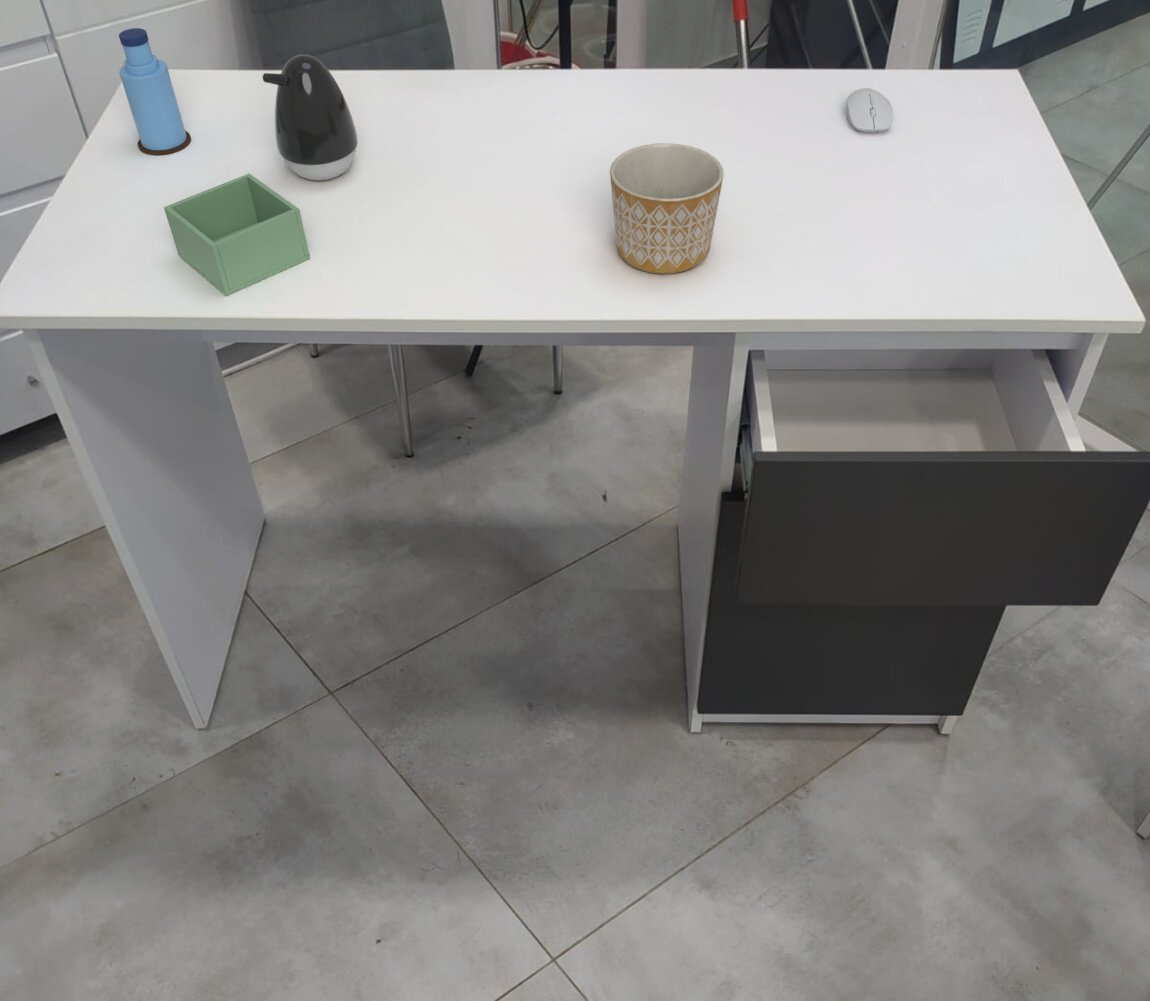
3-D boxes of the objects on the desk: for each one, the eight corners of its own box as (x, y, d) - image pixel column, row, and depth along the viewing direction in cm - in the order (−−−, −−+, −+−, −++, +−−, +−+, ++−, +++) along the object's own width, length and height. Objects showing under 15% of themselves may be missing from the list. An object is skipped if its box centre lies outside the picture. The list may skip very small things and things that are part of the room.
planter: (618, 218, 137) (619, 138, 129) (721, 227, 135) (728, 147, 127) (600, 276, 128) (600, 194, 120) (710, 286, 126) (717, 204, 119)
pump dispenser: (269, 167, 147) (243, 53, 136) (339, 144, 151) (319, 32, 140) (303, 199, 141) (279, 83, 130) (376, 174, 145) (358, 59, 134)
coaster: (153, 160, 148) (152, 157, 148) (129, 142, 152) (128, 139, 152) (200, 143, 152) (199, 140, 151) (175, 125, 155) (175, 122, 155)
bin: (226, 296, 126) (211, 246, 122) (178, 256, 132) (163, 206, 127) (310, 258, 131) (299, 208, 127) (261, 221, 137) (249, 173, 133)
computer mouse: (850, 136, 150) (854, 114, 148) (840, 102, 157) (843, 81, 155) (895, 135, 150) (899, 114, 148) (882, 102, 157) (886, 81, 155)
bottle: (154, 155, 149) (121, 47, 138) (133, 139, 152) (99, 33, 142) (194, 140, 151) (165, 33, 141) (173, 125, 155) (143, 20, 144)
